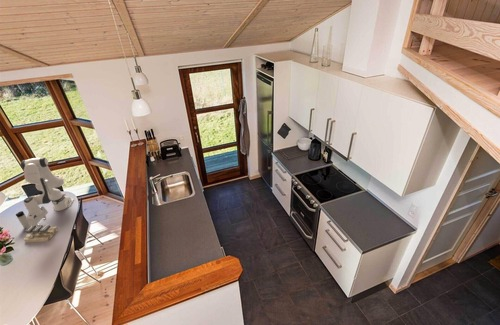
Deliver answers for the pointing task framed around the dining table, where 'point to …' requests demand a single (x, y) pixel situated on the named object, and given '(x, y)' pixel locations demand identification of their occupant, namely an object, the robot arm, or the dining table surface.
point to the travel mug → (23, 219)
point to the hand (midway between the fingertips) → (41, 223)
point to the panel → (41, 236)
